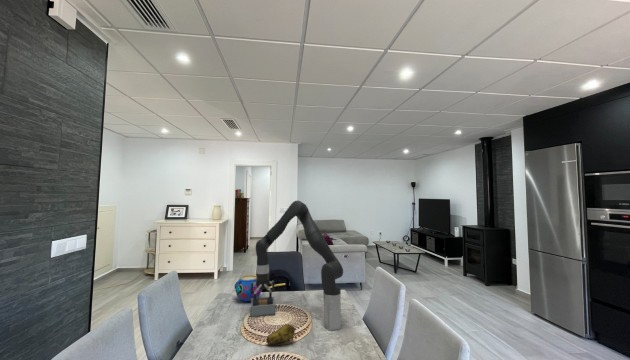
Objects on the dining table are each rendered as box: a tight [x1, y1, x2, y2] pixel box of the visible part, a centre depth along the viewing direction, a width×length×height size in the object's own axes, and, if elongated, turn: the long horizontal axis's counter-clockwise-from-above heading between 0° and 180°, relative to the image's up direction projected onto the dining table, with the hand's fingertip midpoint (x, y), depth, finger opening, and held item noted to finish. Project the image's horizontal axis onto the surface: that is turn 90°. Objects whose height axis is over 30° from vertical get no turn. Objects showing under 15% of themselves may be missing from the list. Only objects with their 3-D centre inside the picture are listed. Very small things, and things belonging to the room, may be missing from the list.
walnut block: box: [259, 297, 267, 305], centre depth 161 cm, size 5×5×6 cm
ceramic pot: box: [234, 274, 263, 302], centre depth 181 cm, size 18×18×15 cm
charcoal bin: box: [250, 296, 276, 318], centre depth 161 cm, size 14×14×6 cm
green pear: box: [266, 323, 296, 345], centre depth 125 cm, size 8×13×8 cm, turn 83°
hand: (262, 299), depth 161 cm, fingers open, 8 cm apart
